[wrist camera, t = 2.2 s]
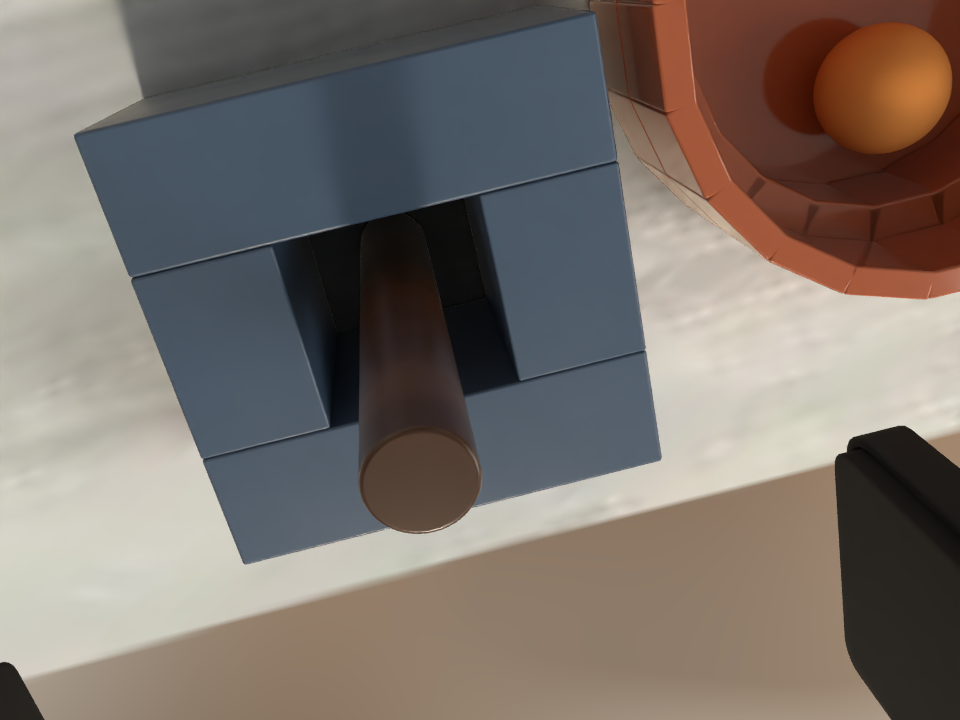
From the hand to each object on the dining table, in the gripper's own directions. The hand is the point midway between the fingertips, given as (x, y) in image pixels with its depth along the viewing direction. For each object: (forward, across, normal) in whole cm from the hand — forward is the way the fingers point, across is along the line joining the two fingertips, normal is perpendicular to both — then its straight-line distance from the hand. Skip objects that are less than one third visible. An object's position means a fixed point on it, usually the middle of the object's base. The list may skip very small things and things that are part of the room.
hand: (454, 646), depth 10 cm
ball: (+14, -13, -2) cm, 19 cm away
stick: (+16, 0, 0) cm, 16 cm away
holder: (+16, 0, 0) cm, 16 cm away
